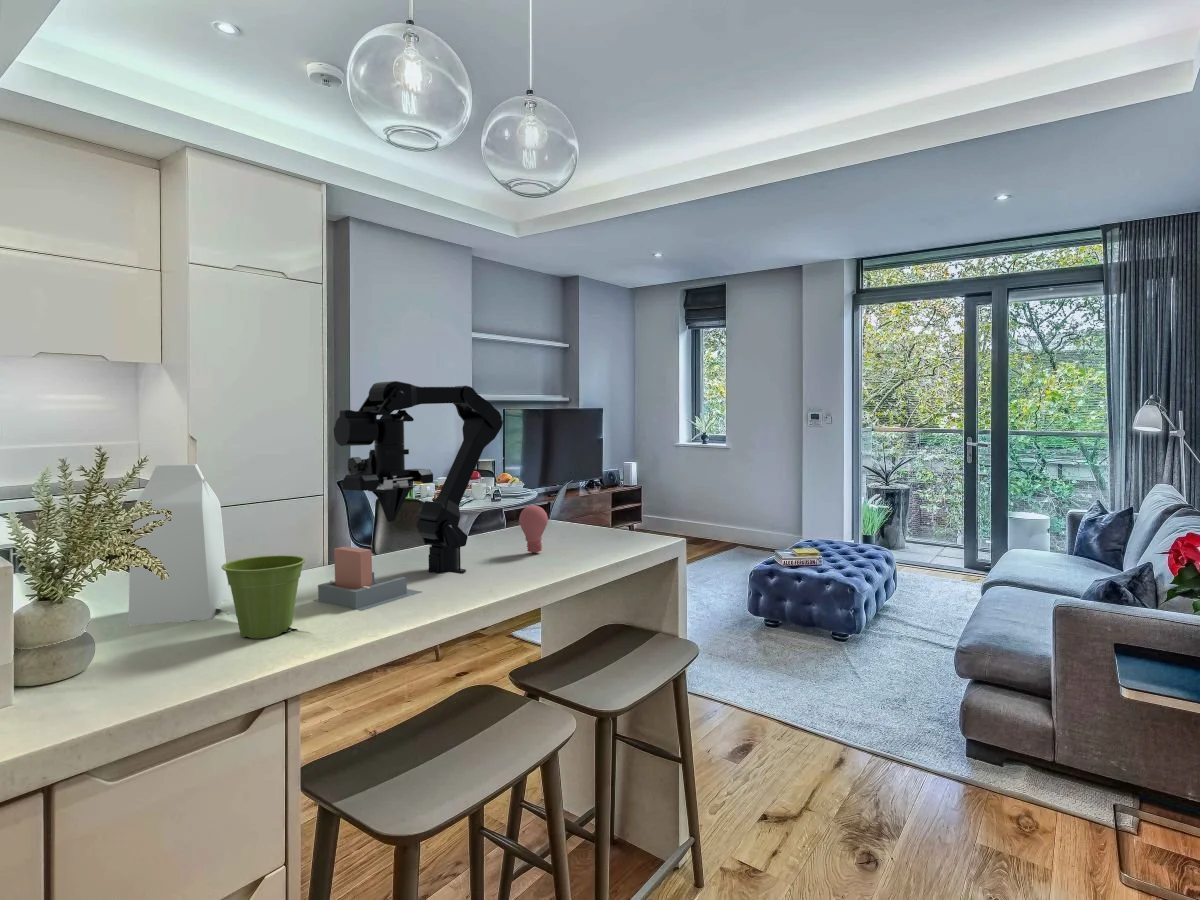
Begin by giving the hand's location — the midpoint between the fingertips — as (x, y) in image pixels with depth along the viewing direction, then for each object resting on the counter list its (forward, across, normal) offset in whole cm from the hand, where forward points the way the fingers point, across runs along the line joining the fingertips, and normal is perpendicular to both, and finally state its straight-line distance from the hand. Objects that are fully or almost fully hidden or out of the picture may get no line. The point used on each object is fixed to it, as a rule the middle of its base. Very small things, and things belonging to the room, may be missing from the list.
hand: (390, 521), depth 131 cm
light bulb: (+13, -40, +6) cm, 43 cm away
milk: (+13, +31, -18) cm, 38 cm away
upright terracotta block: (+12, +13, +5) cm, 19 cm away
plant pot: (+13, +30, +5) cm, 33 cm away
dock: (+13, +10, +5) cm, 17 cm away
